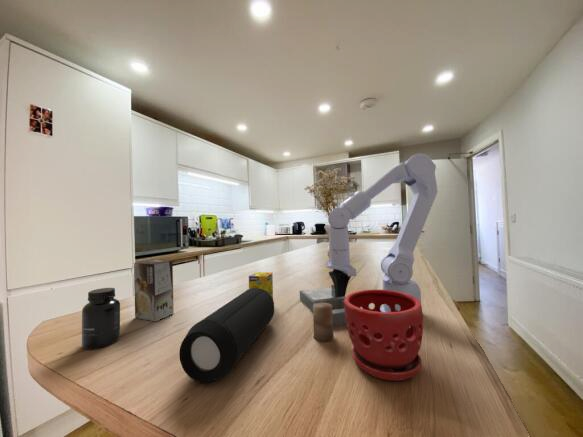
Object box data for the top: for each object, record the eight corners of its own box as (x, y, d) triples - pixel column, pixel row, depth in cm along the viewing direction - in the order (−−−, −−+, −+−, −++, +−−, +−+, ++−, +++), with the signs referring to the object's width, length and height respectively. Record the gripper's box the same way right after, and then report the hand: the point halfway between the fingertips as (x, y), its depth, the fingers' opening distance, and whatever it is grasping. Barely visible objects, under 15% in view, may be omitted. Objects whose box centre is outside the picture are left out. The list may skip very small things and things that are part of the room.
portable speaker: (243, 321, 63) (242, 284, 64) (278, 324, 61) (276, 285, 61) (175, 385, 39) (174, 324, 39) (229, 393, 36) (227, 329, 36)
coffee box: (175, 313, 70) (174, 260, 70) (155, 322, 64) (154, 263, 64) (153, 310, 73) (152, 259, 74) (133, 318, 67) (132, 262, 68)
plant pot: (368, 339, 51) (366, 284, 52) (435, 364, 42) (432, 297, 42) (332, 364, 42) (329, 298, 43) (406, 404, 33) (403, 318, 33)
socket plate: (327, 296, 82) (327, 287, 82) (363, 321, 61) (363, 309, 61) (299, 299, 80) (299, 290, 80) (326, 326, 58) (326, 314, 58)
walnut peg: (328, 331, 56) (327, 301, 56) (336, 339, 51) (335, 307, 52) (311, 334, 54) (310, 304, 55) (318, 342, 50) (317, 310, 50)
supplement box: (268, 313, 68) (267, 276, 68) (248, 312, 69) (248, 275, 69) (273, 306, 73) (272, 272, 74) (255, 305, 75) (255, 271, 75)
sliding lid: (330, 289, 80) (330, 278, 80) (345, 298, 69) (345, 286, 70) (302, 292, 77) (302, 281, 77) (314, 302, 67) (313, 289, 67)
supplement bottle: (76, 354, 49) (76, 296, 49) (87, 340, 55) (86, 289, 55) (117, 345, 52) (116, 291, 52) (122, 333, 58) (122, 284, 58)
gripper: (317, 248, 74) (318, 290, 74) (338, 253, 60) (340, 305, 60) (337, 246, 76) (338, 288, 76) (362, 251, 62) (364, 302, 62)
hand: (340, 296), depth 68 cm, fingers closed
